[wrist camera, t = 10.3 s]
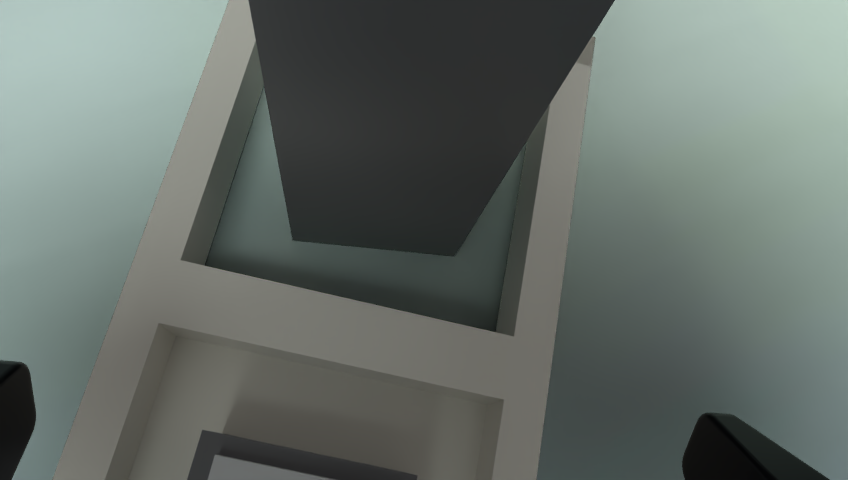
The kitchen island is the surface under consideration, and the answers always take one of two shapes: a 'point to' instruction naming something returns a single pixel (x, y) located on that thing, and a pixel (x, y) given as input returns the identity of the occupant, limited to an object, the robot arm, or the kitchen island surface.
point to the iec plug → (408, 108)
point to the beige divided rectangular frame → (317, 332)
